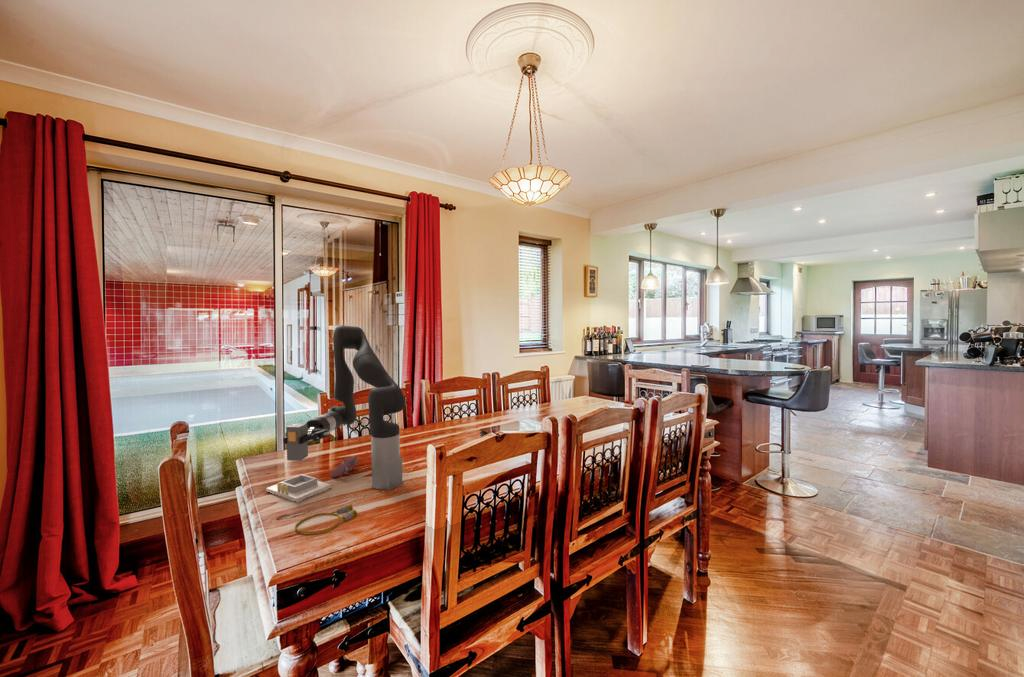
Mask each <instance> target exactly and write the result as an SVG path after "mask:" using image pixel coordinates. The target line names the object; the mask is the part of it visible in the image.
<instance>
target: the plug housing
mask: <svg viewBox="0 0 1024 677" xmlns="http://www.w3.org/2000/svg"><path fill="white" fill-rule="evenodd" d="M285 428H286V429H285V433H286V434H285V437H287V444H286V459H287V461H290V462H291V461H293V462H295V461H296V462H298V461H299V462H301V461H302V460H305V458H307V457H308V456H309V449H308V448H309V445H308V444H309V442H308V441H307V442H305V443H303V444H299V443H298V439H299V437H302V436H303V435H307V422H306V423H303V422H302V423H301V422H300V423H299V422H297V423H296V422H294V423H292V424H290V425H287V426H286V427H285Z"/></svg>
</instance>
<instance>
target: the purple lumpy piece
mask: <svg viewBox="0 0 1024 677" xmlns="http://www.w3.org/2000/svg"><path fill="white" fill-rule="evenodd" d="M358 461H359V458H358V457H356V456H353V455H352V456H347V457H345V458H344V460H342V461H341V462H340V463H339V464H338V465H337V467H336V468H334V469H333V470H332V471H331V472H330V476H331V477H332V478H337V477H338V476H340V475H343V476H345V475H346V474H347V473H348V472H349V471H350V472H351V471H352V470H353V468H354V467H355V466H356V465H357V463H358ZM350 472H349V473H350ZM344 474H345V475H344Z"/></svg>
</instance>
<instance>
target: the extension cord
mask: <svg viewBox="0 0 1024 677" xmlns="http://www.w3.org/2000/svg"><path fill="white" fill-rule="evenodd" d="M348 511H349V512H348ZM342 513H346V514H345V515H344V516H343V517H342V519H340V516H339V515H338V514H342ZM357 514H358V511H357V510H355V509H353V504H348V505H343V506H341V507H339V508H338V509H336V510H335V511H333V512H321V513H314V514H312V515H310V516H309V515H308V516H306V517H305V518H303V519H301V520H299V521H298V522H297V523H296V524H295V526H294V529H295V532H296V533H297V534H300V535H310V536H311V535H320V534H324V533H327V532H331V531H332V530H335V529H336V528H337V527H338V526H339V524H340V523H342V522H343V521H344V522H346V521H348V520H351V519H353V518H354V517H355V516H357ZM321 515H330V516H332V515H333V516H336V517H337V518H338V522H337V523H335V524H333V525H331V526H330V527H328V528H325V529H322V530H313V531H305V530H300V529H298V527H299V526H300V525H301V524H302V523H304V522H305V521H308V520H309V519H312V518H314V517H318V516H321Z"/></svg>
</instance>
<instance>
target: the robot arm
mask: <svg viewBox="0 0 1024 677" xmlns="http://www.w3.org/2000/svg"><path fill="white" fill-rule="evenodd" d="M332 335H333V336H332V338H333V339H332V340H333V341H332V344H333V347H332V348H333V359H334V370H335V377H334V378H335V382H334V394H333V395H334V400H336V401H338V402H341V403H343V406H341V405H335V406H334V405H333V406H331V407H330V408H329V410H328V411H327V412H325V413H324V414H320V415H318V416H315V417H314V418H312V419H309V420H308V421H306V423H307V435H303V436H302V437H299V439H298V443H299V444H303V443H305V442H307V441H308V443H309V442H312V441H313V442H317V441H319V440H322V439H325V438H328V437H329V434H330V433H332V432H333V431H335V430H337V429H338V428H339V427H340V426H341V425H348V426H349V425H353V424H354V423H355V422H356V419H357V415H358V414H357V408H356V404H355V399H354V398H355V397H354V389H355V385H354V384H355V378H354V375H353V373H352V371H351V370H350V367H349V366H348V364H347V362H346V359H345V356H344V350H346V349H347V350H356V351H357V352H356V353H355V354H354V356H353V360H352V367H353V370H354V371H355V373H356V375H357V377H358V378H359V379H360V380H361V381H362V382H365V383H366V384H368V385H370V386H372V387H374V388H372V389H370V391H369V393H368V411H369V413H368V414H369V428H370V447H371V448H370V451H371V452H370V454H371V455H370V457H371V458H370V459H371V461H370V462H371V487H372V488H373V489H376V490H389V491H390V490H393V489H394V488H396V487H399V486H401V485H402V484H403V482H404V481H403V456H402V455H401V452H400V450H401V449H400V444H401V443H400V442H401V441H400V438H401V437H400V436H401V435H400V425H399V424H397V423H396V422H390V421H386V420H385V418H384V415H385V416H386V415H392V414H398V413H399V412H401V411H403V410H404V408H405V404H406V401H405V400H406V399H405V395H404V393H403V390H402V388H400V386H399V385H398V383H396V381H395V380H394V379H393V378H392V377H391V376H390V374H389V373H388V372H387V370H386V369H385V367H384V366H383V363H382V362H381V360H380V359H379V357H378V356H377V355H376V353H375V351H374V350H373V348H372V347H371V344H370V343H369V341H368V338H367V335H366V334H365V332H364V330H363V329H362V328H361V327H359V326H352V325H351V326H350V325H338V326H336V327H335V328H334V331H333V334H332ZM284 434H285V435H286V432H285V433H284ZM282 439H283V444H284V445H287V437H286V436H284V437H283V438H282Z"/></svg>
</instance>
